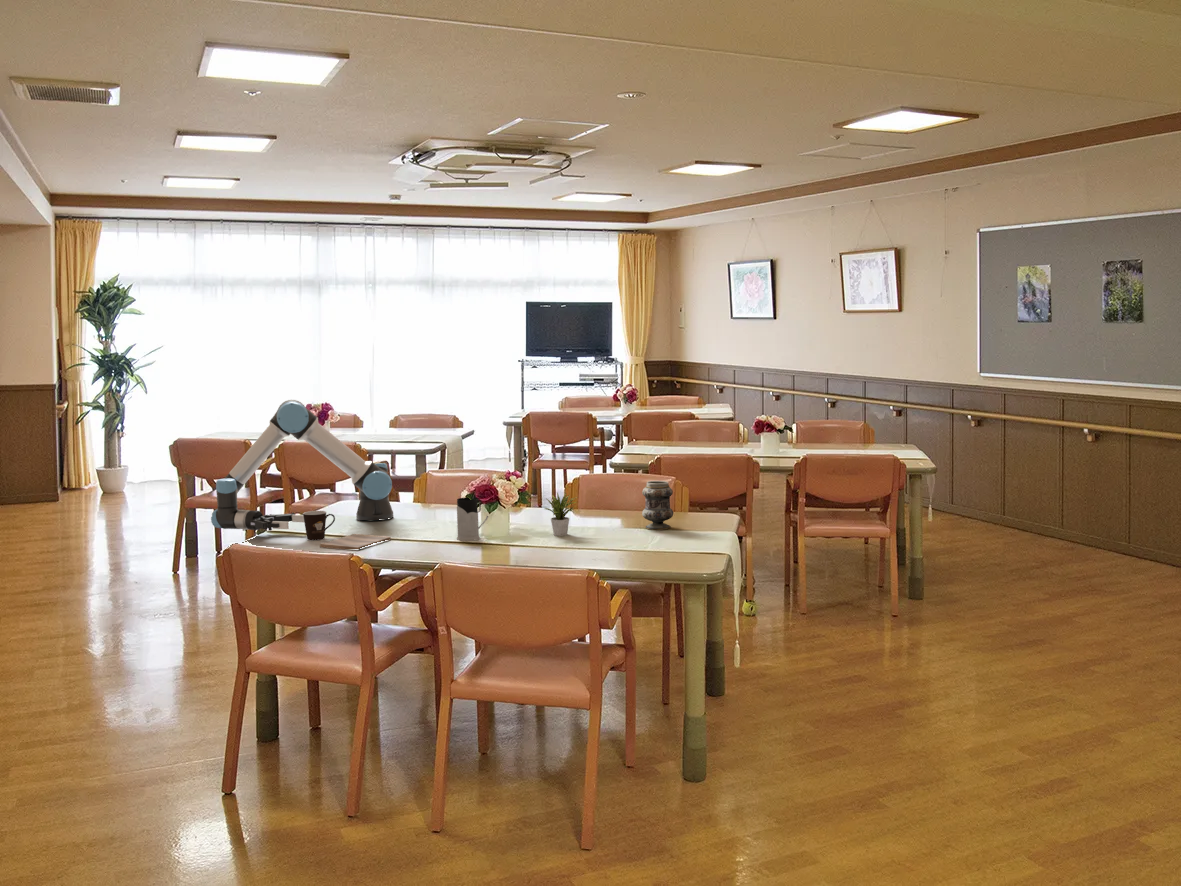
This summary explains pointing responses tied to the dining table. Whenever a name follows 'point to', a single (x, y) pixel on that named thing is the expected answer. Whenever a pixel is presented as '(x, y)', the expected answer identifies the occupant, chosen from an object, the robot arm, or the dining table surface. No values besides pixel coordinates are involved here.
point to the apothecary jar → (657, 504)
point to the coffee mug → (316, 524)
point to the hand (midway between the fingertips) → (297, 522)
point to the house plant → (560, 515)
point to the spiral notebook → (354, 541)
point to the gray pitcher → (468, 519)
